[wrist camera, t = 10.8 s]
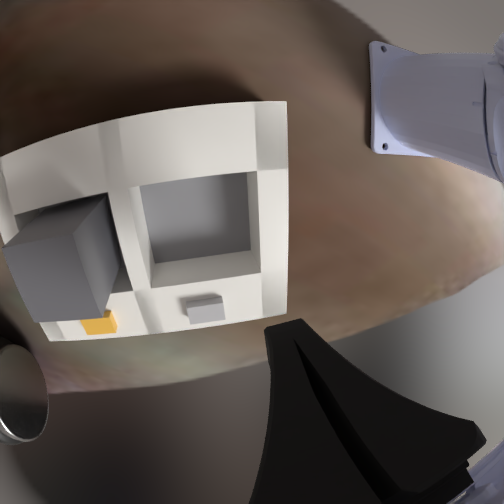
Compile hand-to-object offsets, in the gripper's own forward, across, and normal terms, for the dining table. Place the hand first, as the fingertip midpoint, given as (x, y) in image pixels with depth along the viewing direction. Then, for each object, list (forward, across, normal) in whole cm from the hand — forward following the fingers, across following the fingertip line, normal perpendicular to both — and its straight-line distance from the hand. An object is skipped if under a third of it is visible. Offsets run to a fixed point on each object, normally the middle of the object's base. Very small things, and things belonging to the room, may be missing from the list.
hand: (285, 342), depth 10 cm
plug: (+9, +9, -3) cm, 13 cm away
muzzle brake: (+10, +34, +5) cm, 35 cm away
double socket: (+9, +6, -2) cm, 11 cm away
